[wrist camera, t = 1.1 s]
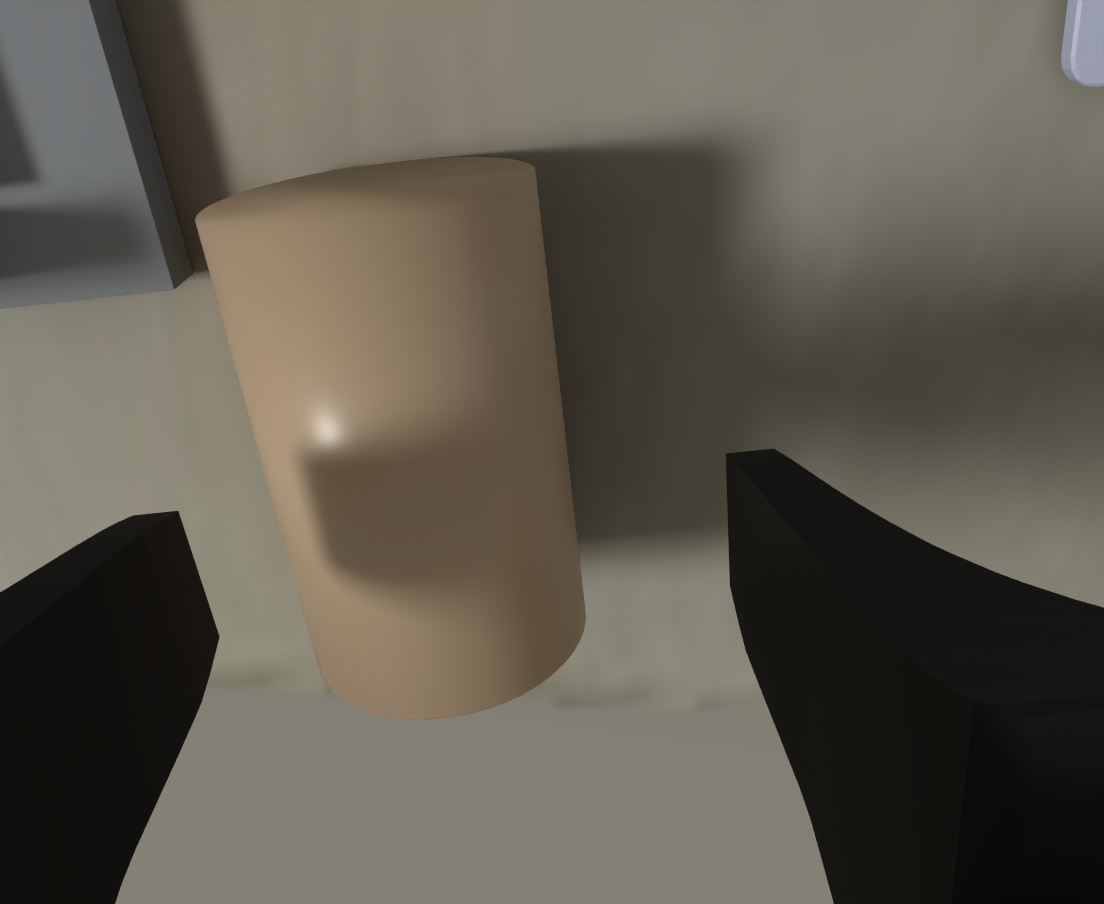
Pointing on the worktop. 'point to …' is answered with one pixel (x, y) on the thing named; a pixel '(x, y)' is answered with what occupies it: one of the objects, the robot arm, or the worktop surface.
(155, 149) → the holder
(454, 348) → the beige rounded cylinder
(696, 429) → the worktop surface
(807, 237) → the worktop surface
